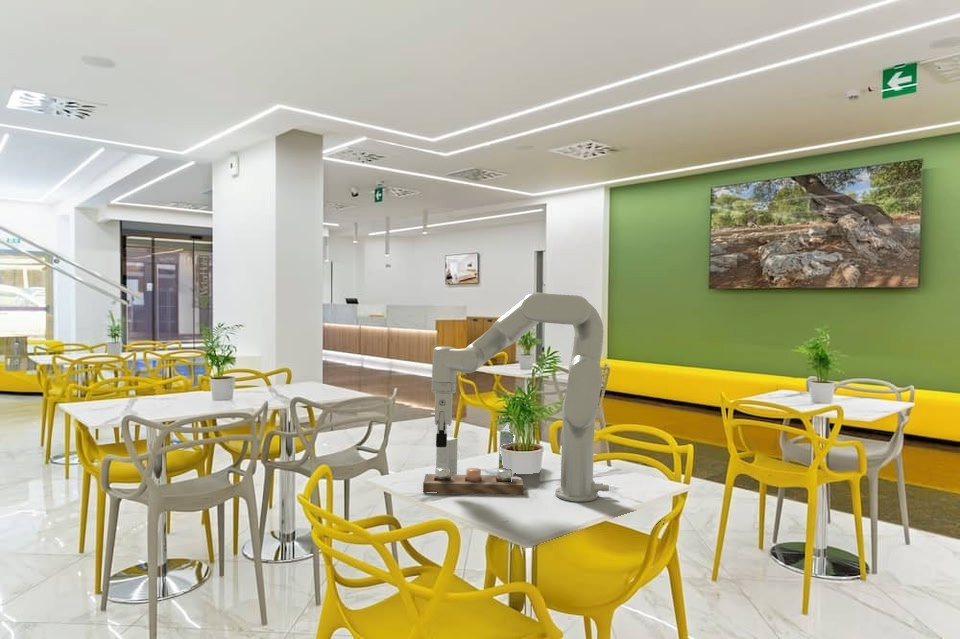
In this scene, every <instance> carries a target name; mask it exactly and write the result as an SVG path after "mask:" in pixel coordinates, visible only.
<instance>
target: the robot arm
mask: <svg viewBox="0 0 960 639" xmlns="http://www.w3.org/2000/svg"><path fill="white" fill-rule="evenodd" d="M539 323H545V324H546V323H547V324H555V325H556V324H557V325H558V324H559V325H569V326H571V325H572V326H573V330H574V336H573V345H572V346H573V347H572V351H571V352H572V354H571V359H570V362H569V366H568V377H567V384H566V391H565V397H564V399H563V401H562V408H561V413H562V415H561V417H562V418H561V420H562V423H561V425H562V426H561V429H562V430H561V458H560V460H561V462H560V466H561V467H560V471H561V472H560V487H558V488H556V489H555V490H554V491H555V492H554V493H555V496H556V497H557V498H558V499H561V500H565V501H569V502H579V503H581V502H586V503H587V502H592V501H595V500H597V499H598V497H599V493H598V492H609V491H610V487H609V484H604V483H601V482H600V483H597V482H595V481H594V460H595V459H594V458H595V457H594V456H595V455H594V453H595V452H594V451H595V450H594V449H595V420H596V417H597V415H598V410H599V409H598V408H599V402H600V397H601V396H600V395H601V389H602V383H603V371H602V369H603V368H602V367H601V359H602V352H603V342H604V325H603V321H602V318H601V316H600V313H599V312H598V311H597V309H596V308H595V306H593V305H592V304H591V303H590V302H589V301H588V300H587V299H586V298H585V297H583V296H581V295H577V294H575V295H573V294H571V295H570V294H559V293H558V294H557V293H545V292H539V291H537V292H536V291H534V292H531V293H529V294H527V295H525V297H524V299H522V300H520V302H518V303H517V304H516V305H515V306H513V307H512V308H511V309H509V310H508V311H507V312H506V313H504V314H503V315H501V316H500V317H499V318H498V319H497V320H496V321H494V322H493V324H492V325H491V327H490V328H489V329H487V331H485V332H484V333H483V334H482V335H480V337H478V338H477V339H475V340H474V341H473V342H471V344H469V345H468V346H467V347H465V348H456V347H452V346H443V345H442V346H435V347H434V349H433V351H432V369H431V389H430V390H431V393H434V424H435V426H437V428H436V435H435V436H436V437H435V440H436V441H435V448H437V447H446V446H447V437H448V431H447V429H448V426H449V427H451V426H452V420H453V394H456V392H457V374H458V372H461V373H464V374H472V373H474V372H476V371H477V370H479V369H480V368H481V367H482V366H483V365H485V364H486V363H487V362H488V361H489V360H491V359H492V358H493V357H495V356H496V355H498V353H500V352H501V351H503V350H504V349H506V348H507V347H508V348H509V346H512V345H513V344H514V343H515V342H517V341H518V340H519V339H521V338H522V337H523V336H524V335H526V334H527V333H528V332H530V331H531V330H532V329H533V328H535V327H536V326H537V325H538V324H539ZM447 425H448V426H447Z"/></svg>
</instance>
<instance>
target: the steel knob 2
mask: <svg viewBox="0 0 960 639" xmlns="http://www.w3.org/2000/svg"><path fill="white" fill-rule="evenodd" d="M496 473H497V474H496V475H497V482H511V477H512V470H511V469H506V468H502V469H499V468H498V469H497V470H496Z"/></svg>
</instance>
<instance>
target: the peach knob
mask: <svg viewBox="0 0 960 639" xmlns="http://www.w3.org/2000/svg"><path fill="white" fill-rule="evenodd" d="M465 470H466V471H465V472H466V473H465V475H466V481H467V482H480V481H481V475H482V470H481V468H480V467H479V468H477V467H468V468H466V469H465Z"/></svg>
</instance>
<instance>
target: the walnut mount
mask: <svg viewBox="0 0 960 639" xmlns="http://www.w3.org/2000/svg"><path fill="white" fill-rule="evenodd" d="M422 483H423V484H422V493H423V492H437V493H436V494H451V493H460V495H467V494H468V495H506V496H507V495H511V496H513V495H514V496H523V495H524V482H523V479H522V480H519V479H512V482H497V474H496V475H495V474H493V475H491V474H490V475H489V474H487V475H486V474H481V481H480V482H467V481H466V474H455V475H450V480H449V481H435V473H425V476H424V478H423V482H422Z"/></svg>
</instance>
